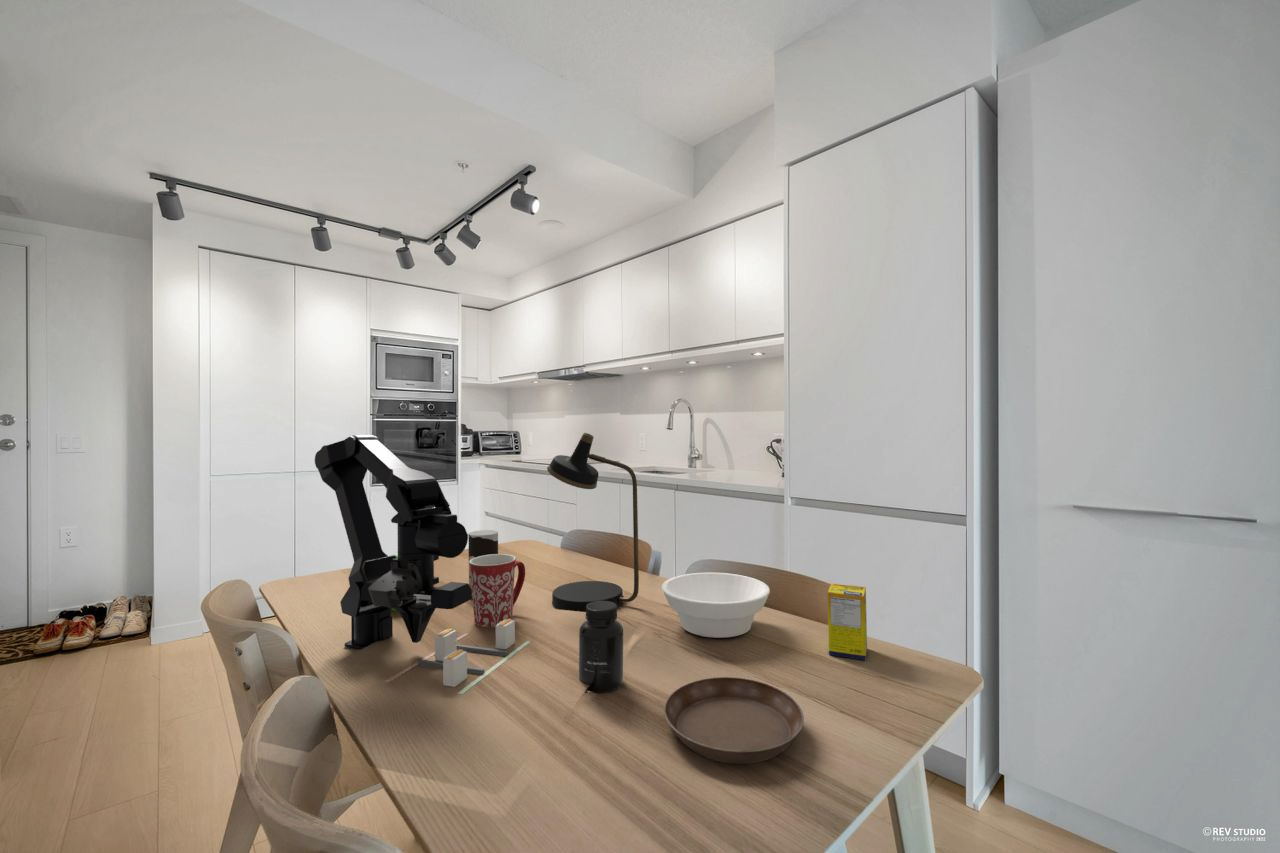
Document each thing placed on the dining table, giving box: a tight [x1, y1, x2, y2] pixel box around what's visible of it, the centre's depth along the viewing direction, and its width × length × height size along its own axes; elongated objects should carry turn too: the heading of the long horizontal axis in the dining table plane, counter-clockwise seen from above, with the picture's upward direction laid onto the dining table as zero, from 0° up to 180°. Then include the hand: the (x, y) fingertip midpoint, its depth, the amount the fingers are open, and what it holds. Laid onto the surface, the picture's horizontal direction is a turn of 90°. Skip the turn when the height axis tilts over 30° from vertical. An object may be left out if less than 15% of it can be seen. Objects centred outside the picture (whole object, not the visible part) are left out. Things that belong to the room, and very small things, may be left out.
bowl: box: [661, 572, 771, 639], centre depth 105 cm, size 21×21×8 cm
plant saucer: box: [663, 676, 805, 765], centre depth 69 cm, size 18×18×3 cm
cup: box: [468, 529, 499, 599], centre depth 126 cm, size 7×7×15 cm
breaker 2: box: [495, 618, 516, 651], centre depth 94 cm, size 2×3×4 cm, turn 163°
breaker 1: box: [442, 649, 468, 688], centre depth 80 cm, size 2×3×4 cm, turn 163°
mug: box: [468, 553, 526, 628], centre depth 108 cm, size 13×9×14 cm
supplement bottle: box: [578, 601, 624, 694], centre depth 82 cm, size 7×7×12 cm
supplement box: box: [827, 583, 868, 661], centre depth 93 cm, size 6×6×11 cm
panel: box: [384, 632, 532, 695], centre depth 88 cm, size 14×22×2 cm, turn 163°
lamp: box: [546, 432, 640, 613], centre depth 121 cm, size 16×22×38 cm
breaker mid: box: [434, 628, 458, 662], centre depth 89 cm, size 2×3×4 cm, turn 163°
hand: (416, 641), depth 91 cm, fingers closed
